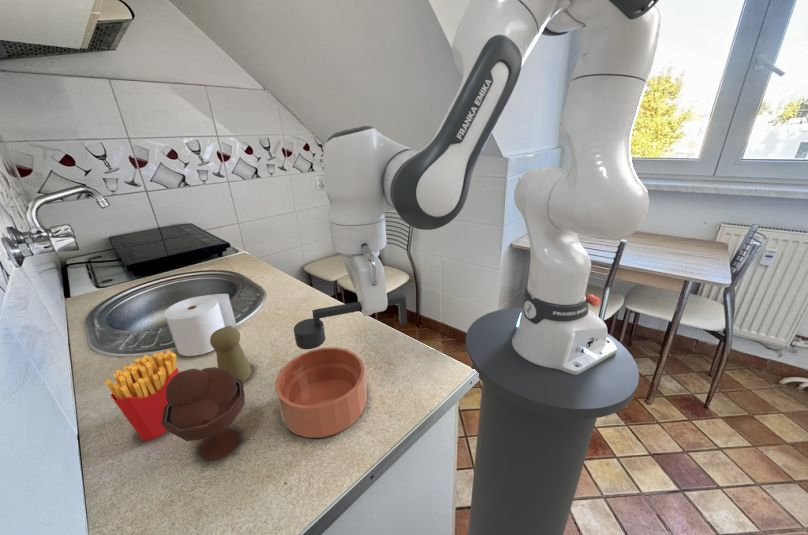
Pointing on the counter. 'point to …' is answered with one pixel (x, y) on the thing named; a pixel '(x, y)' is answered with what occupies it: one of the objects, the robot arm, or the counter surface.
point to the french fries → (144, 392)
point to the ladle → (313, 329)
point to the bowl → (321, 392)
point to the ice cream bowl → (204, 409)
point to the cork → (230, 352)
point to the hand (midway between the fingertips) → (365, 309)
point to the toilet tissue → (198, 322)
